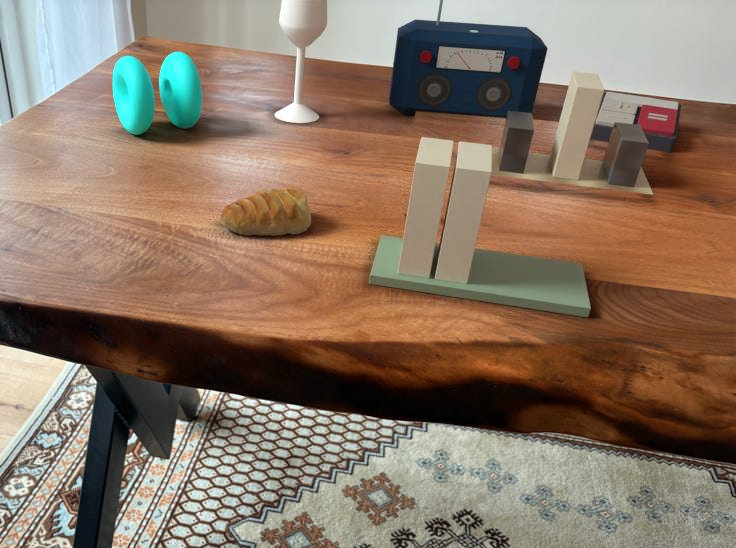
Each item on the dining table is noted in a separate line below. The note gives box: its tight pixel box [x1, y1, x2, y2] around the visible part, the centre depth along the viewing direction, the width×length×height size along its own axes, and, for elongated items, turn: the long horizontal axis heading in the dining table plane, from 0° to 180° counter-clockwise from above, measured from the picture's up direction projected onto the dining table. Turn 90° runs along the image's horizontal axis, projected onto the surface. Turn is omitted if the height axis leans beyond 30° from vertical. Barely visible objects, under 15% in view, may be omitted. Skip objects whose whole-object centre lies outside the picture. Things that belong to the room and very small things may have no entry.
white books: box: [368, 136, 592, 318], centre depth 72 cm, size 20×9×12 cm, turn 76°
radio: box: [388, 0, 549, 119], centre depth 112 cm, size 21×9×20 cm, turn 82°
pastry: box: [220, 185, 312, 237], centre depth 82 cm, size 9×7×4 cm
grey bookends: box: [491, 111, 654, 195], centre depth 96 cm, size 20×10×6 cm, turn 76°
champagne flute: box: [274, 0, 328, 124], centre depth 107 cm, size 7×7×24 cm
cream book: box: [549, 71, 605, 180], centre depth 94 cm, size 3×7×11 cm, turn 166°
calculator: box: [590, 91, 682, 154], centre depth 111 cm, size 11×4×15 cm
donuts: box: [112, 51, 203, 136], centre depth 104 cm, size 10×10×10 cm
